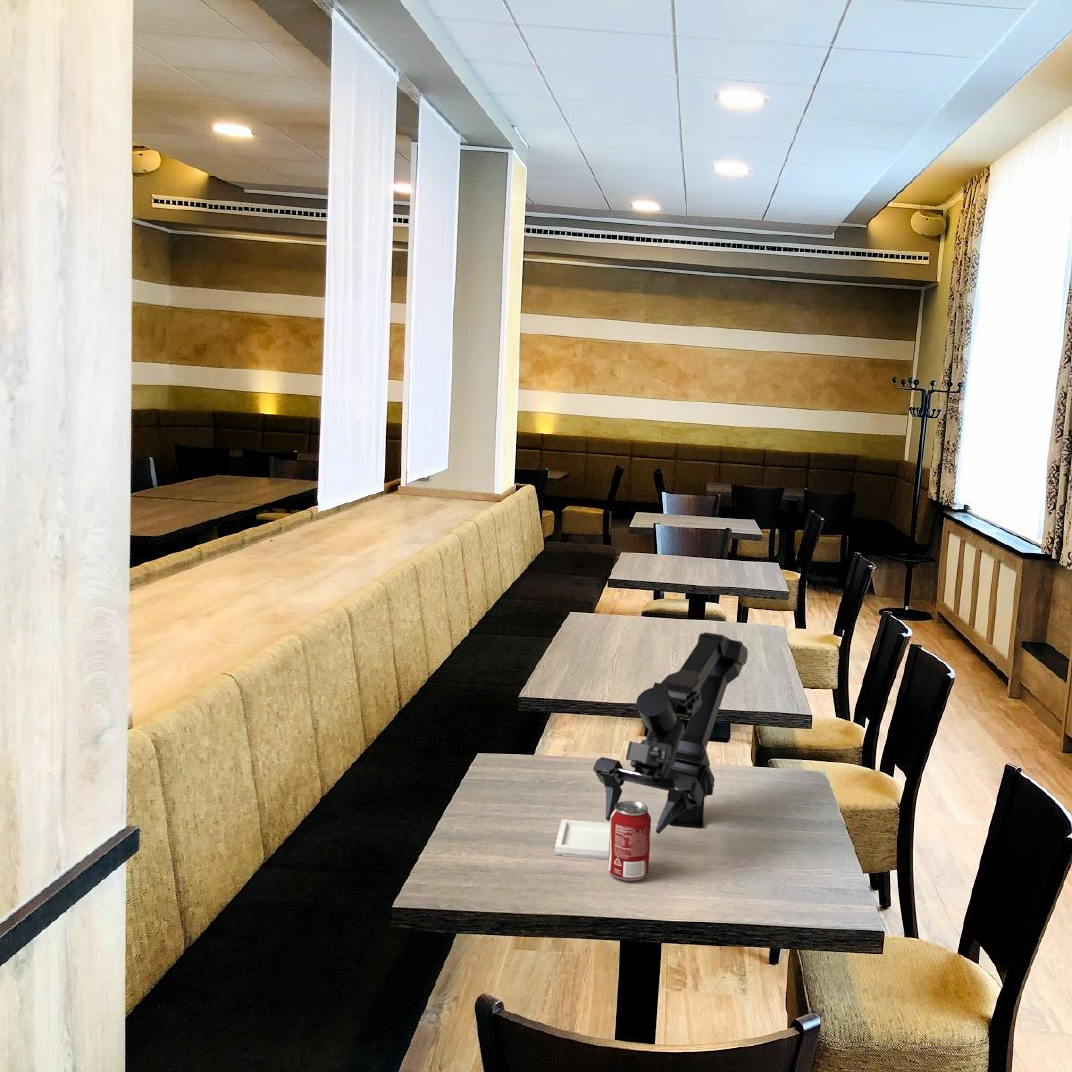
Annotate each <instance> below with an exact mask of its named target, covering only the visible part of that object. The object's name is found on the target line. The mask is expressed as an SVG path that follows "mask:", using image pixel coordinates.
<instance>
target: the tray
mask: <svg viewBox="0 0 1072 1072" xmlns="http://www.w3.org/2000/svg"><path fill="white" fill-rule="evenodd" d="M609 841H610V822H602V821H590V820H589V821H588V820H577V819H565V818H561V821H560V825H559V828H558V833H557V836H556V841H555V844H554V856H558V855H562V856H561V857H570V856H571V857H573V858H582V859H583V858H584V859H593V860H594V859H595V860H606V861H609Z"/></svg>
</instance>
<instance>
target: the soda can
mask: <svg viewBox="0 0 1072 1072" xmlns="http://www.w3.org/2000/svg"><path fill="white" fill-rule="evenodd" d="M648 808H649V807H648V806H647V805H646V804H645V803H643V802H639V801H635V800H624V801H618V803H617V804H616V805H615V810H614V811H613V813H612V814H611V819H610V821H609V823H610V841H609V860H608V865H607V869H608V870H607V871H608V873H609V874H610V875H611V876H612V877H614V878H615V879H617V880H620V881H624V882H637V881H640V880H642V879H644V878H646V877H647V876H648V874H649V866H650V848H651V847H650V846H651V829H652V816H651V815H650V813H649V812H648V810H649V809H648ZM636 880H637V881H636Z"/></svg>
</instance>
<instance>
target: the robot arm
mask: <svg viewBox="0 0 1072 1072" xmlns="http://www.w3.org/2000/svg"><path fill="white" fill-rule="evenodd" d="M748 656H749V654H748V648H747V647H746V646H745V645H744V643H743V642H742V641H741V640H734V639H729V637H727V636H725V635H724V634H718V633H714V632H713V633H712V632H704V633H703V632H701V633H699V635H698V639H697V643H696V645H695V646H694V648H693V649H692V651H691V653H689V656H688V657H687V658H686V660H685V662H684V663H683V664H682V666H681V668H680V669H679V670H678V671H676V672H674V673H671V674H668V675H667V676H666V677H665V678H664V679H663V680H662V681H661V682H654V684H653V686H652V687H650V688H647V689H645V690H643V691H642V692H641V693H640V694H639V695H638V696H637V698H636V707H637V711H638V712H639V714H640V716H641V719H642V720H643V723H644V725H645V726H646V728H647V729H648V732H647V735H646V738H645V739H642V740H641V742H635V741H631V740H630V741H629V742H628V746H627V752H626V756H625V760H626V761H630V763H629V765H630V767H631V768H633V769H634V770H630V769H626V768H624V766H623V764H622V763H621V762H620V760H617V759H613V758H608V757H604V756H601V757H600V758H598V759H597V760H596V761H595V763H594V765H593V768H592V769H593V772H594V773H595V775H596V776H597V778H598V780H599V781H600V783H601V784H603V786H604V787H605V819H606V821H607V822H610V820H611V814H612V813H613V811H614V810H615V805H616V804H617V803H619V802H620V801H619V800H620V798H621V795H622V793H623V789H622V788H621V787H622V786H623V785H624V783H625V782H628V783H633V784H638V785H641V786H646V787H651V788H655V789H658V790H663V791H666V792H667V791H668V792H667V799H666V803H665V805H664V807H663V809H662V812H661V814H660V818H659V819H658V822H657V824H656V828H655V832H656V834H659V835H660V834H661V833H662V832H663V831H664V830H665V829H666V828H667V826H669V825H670V826H681V827H690V828H691V827H692V828H704V827H705V822H704V821H705V819H704V813H705V812H704V811H705V798H706V797H707V796H713V795H714V787H715V781H716V780H715V776H714V774H713V772H712V770H711V767H710V765H711V763H710V758H709V755H708V751H707V746H708V744H709V740H710V738H711V735H712V732H713V729H714V725H715V722H716V720H717V717H718V713H719V710H720V708H721V705H722V702H723V698H724V696H725V692H726V689H727V687H728V685H729V684H730V683H731V682H733V681H734V680H735V679H736V678H738V677H739V676H740V674H741V671H742V669H743V667H744V666H746V664H747V660H748ZM680 716H682V717H683V716H684V717H689V719H688V723H687V725H686V727H685V724H684V722H683V720H682V718H681V717H680Z"/></svg>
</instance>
